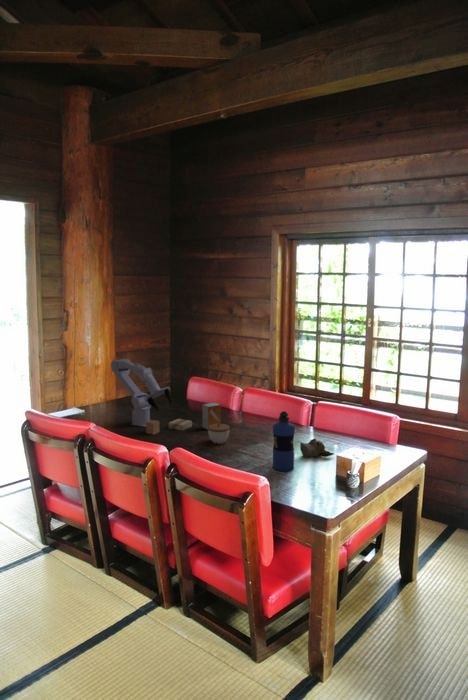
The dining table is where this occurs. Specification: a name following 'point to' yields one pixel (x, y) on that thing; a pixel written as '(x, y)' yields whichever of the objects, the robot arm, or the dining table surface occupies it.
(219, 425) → the lidded jar
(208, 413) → the small box
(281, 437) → the water bottle
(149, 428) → the terracotta block
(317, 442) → the ceramic sculpture
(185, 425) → the maple base block
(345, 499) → the dining table surface
